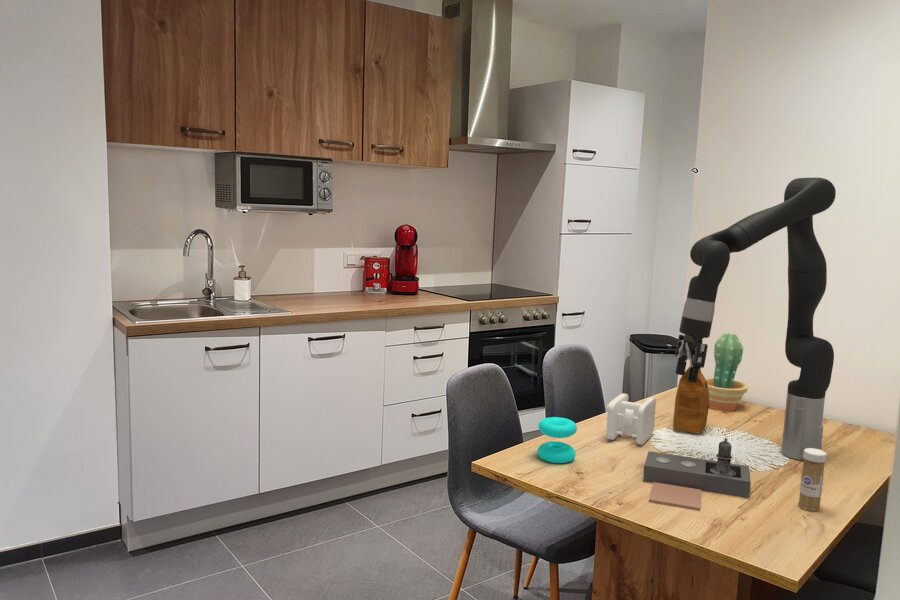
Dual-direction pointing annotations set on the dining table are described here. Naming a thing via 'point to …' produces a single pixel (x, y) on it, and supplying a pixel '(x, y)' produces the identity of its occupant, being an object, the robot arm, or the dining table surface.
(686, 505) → the tile pad
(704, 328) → the robot arm
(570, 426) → the donuts
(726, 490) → the socket strip
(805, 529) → the dining table surface
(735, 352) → the potted cactus
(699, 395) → the coffee package
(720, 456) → the dark chess piece
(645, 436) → the cable organizer
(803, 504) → the sprinkles bottle
